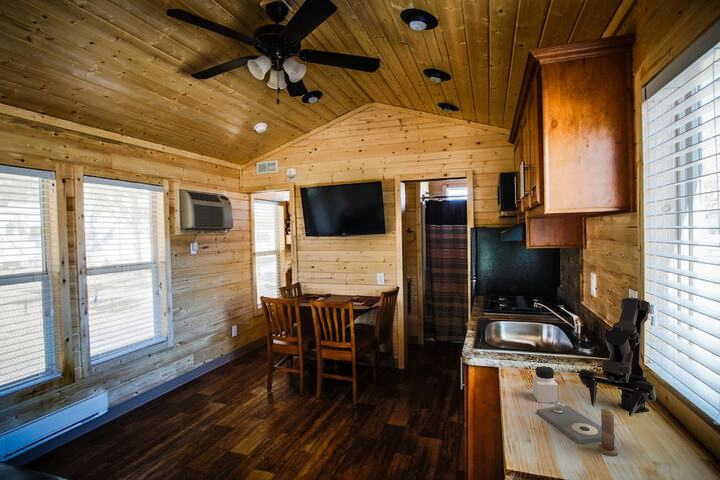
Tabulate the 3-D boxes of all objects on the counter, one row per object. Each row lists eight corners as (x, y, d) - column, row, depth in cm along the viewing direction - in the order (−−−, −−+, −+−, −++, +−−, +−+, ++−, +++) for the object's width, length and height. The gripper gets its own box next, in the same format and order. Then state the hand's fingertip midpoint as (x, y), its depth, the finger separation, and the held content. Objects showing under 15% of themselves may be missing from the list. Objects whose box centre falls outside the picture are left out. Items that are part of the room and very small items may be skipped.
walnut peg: (608, 445, 109) (607, 406, 109) (622, 454, 105) (621, 414, 105) (594, 448, 109) (593, 408, 108) (608, 457, 104) (606, 416, 104)
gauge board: (567, 409, 133) (567, 405, 133) (614, 438, 113) (614, 434, 113) (536, 413, 131) (536, 409, 130) (579, 444, 111) (579, 439, 111)
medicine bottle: (558, 403, 137) (557, 371, 137) (537, 402, 138) (536, 370, 138) (552, 395, 144) (551, 364, 144) (533, 394, 145) (532, 363, 145)
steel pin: (558, 408, 130) (558, 399, 130) (565, 413, 127) (565, 403, 127) (550, 409, 130) (550, 400, 130) (557, 414, 127) (556, 404, 127)
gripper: (579, 343, 119) (568, 387, 112) (653, 355, 106) (645, 407, 98) (588, 361, 125) (577, 405, 117) (659, 375, 111) (652, 426, 104)
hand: (610, 410), depth 109 cm, fingers open, 9 cm apart
